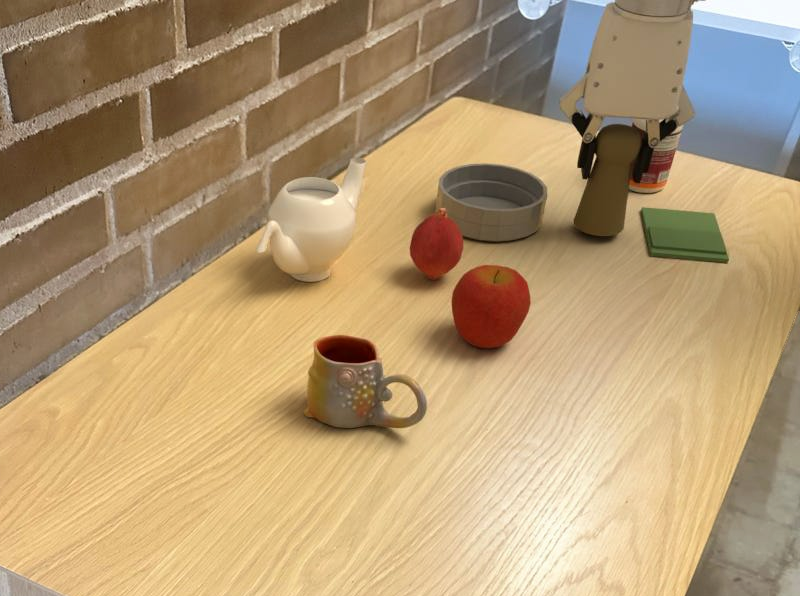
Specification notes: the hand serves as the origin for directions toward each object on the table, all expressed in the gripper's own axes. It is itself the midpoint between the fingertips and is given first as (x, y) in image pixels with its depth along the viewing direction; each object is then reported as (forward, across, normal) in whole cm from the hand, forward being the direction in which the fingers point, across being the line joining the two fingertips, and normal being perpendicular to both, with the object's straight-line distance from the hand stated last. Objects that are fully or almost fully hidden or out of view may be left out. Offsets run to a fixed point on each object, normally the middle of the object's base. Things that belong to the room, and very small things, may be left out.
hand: (610, 174), depth 113 cm
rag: (+7, -10, -1) cm, 13 cm away
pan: (+7, +13, -1) cm, 15 cm away
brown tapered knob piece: (+6, 0, 0) cm, 6 cm away
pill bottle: (+7, -7, -15) cm, 18 cm away
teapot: (+7, +33, +16) cm, 37 cm away
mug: (+7, +24, +43) cm, 50 cm away
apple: (+7, +13, +27) cm, 31 cm away
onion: (+7, +19, +15) cm, 25 cm away
